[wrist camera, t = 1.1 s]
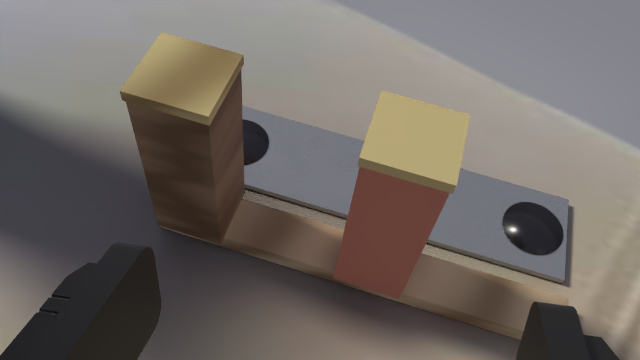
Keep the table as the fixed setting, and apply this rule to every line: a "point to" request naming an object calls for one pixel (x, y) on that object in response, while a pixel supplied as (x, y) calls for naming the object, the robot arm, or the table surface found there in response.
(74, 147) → the table surface
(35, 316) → the robot arm
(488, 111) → the table surface
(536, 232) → the flange plate
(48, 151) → the table surface
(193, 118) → the rail
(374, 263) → the sliding leg
